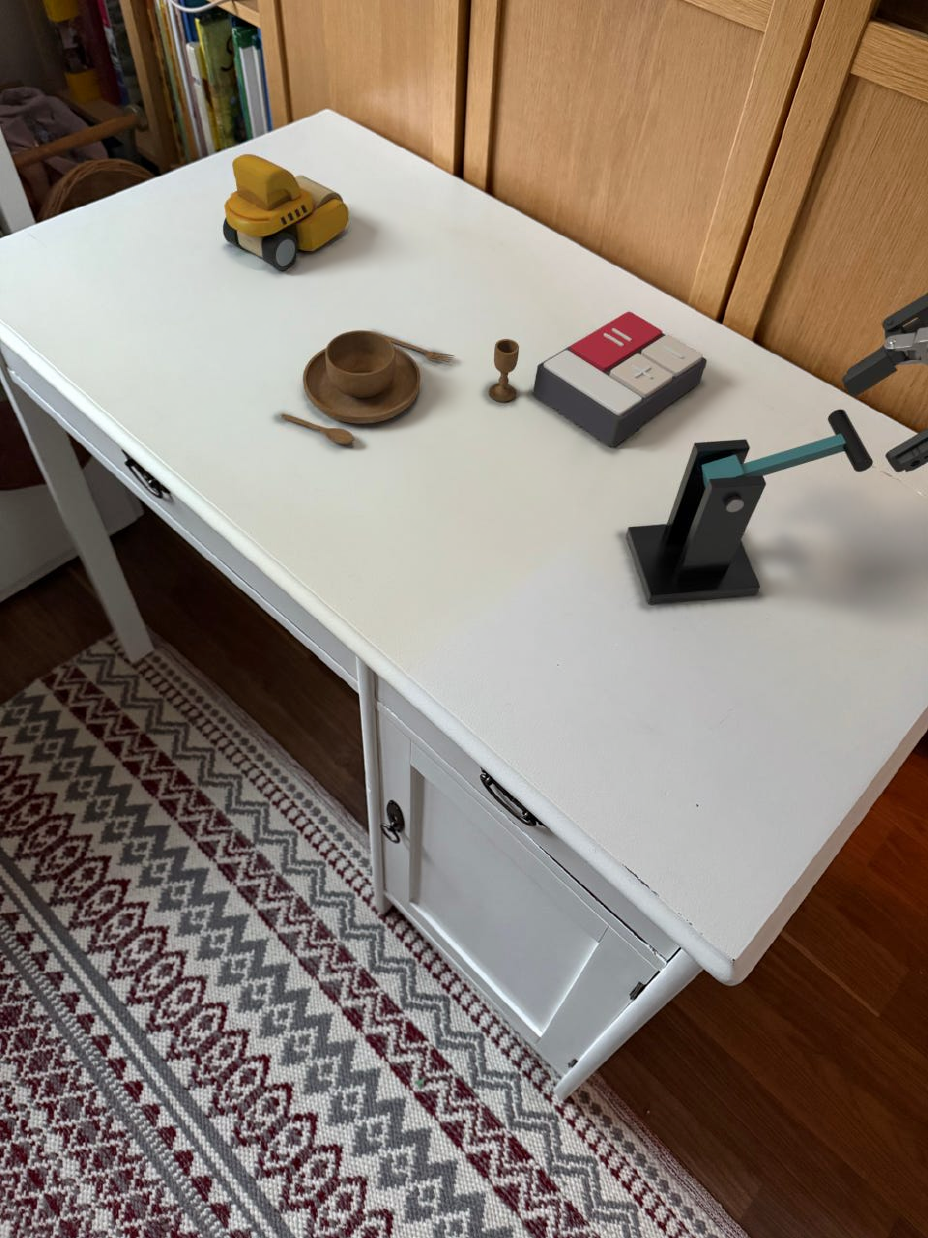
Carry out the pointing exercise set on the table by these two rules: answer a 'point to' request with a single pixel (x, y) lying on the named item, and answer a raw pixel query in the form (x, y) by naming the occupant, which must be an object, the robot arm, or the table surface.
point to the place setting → (378, 379)
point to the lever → (798, 454)
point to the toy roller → (280, 212)
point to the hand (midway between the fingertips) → (867, 424)
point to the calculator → (618, 377)
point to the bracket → (701, 534)
